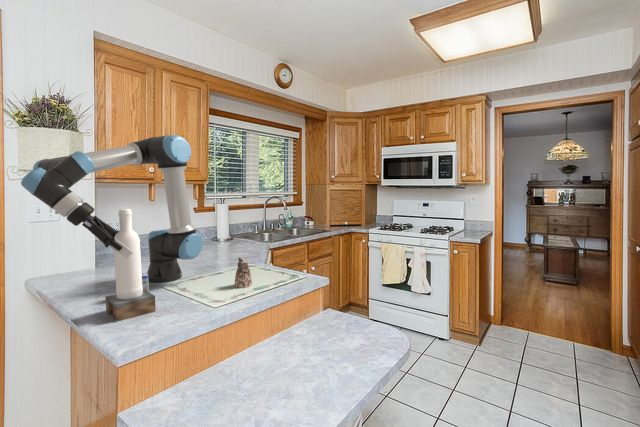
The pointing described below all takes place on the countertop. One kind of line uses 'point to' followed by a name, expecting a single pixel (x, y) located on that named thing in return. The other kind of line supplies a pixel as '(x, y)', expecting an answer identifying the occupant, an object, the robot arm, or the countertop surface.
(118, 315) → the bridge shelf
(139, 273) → the bottle
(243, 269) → the figurine
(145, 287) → the medicine box
